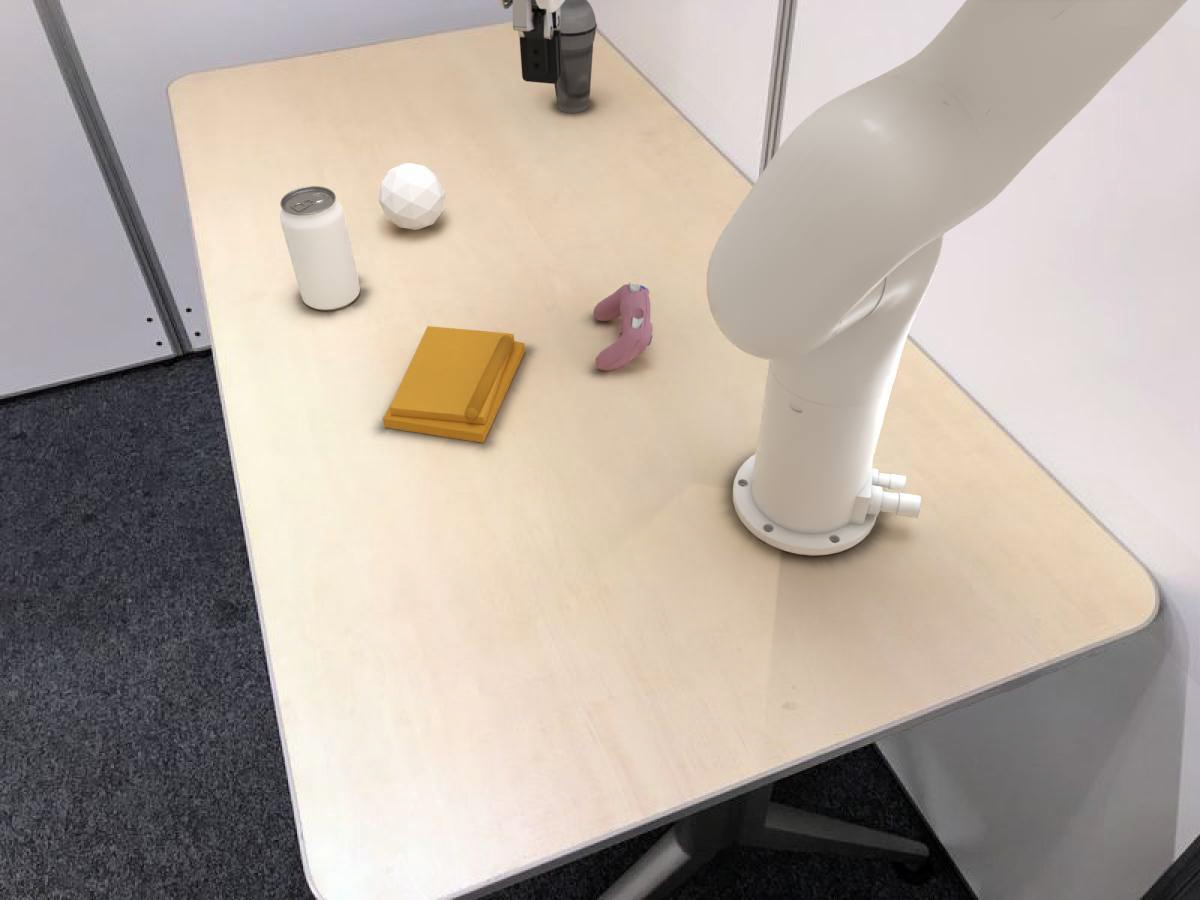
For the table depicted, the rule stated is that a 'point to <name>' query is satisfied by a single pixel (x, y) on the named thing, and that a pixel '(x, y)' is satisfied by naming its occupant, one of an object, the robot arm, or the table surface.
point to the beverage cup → (575, 55)
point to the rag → (455, 383)
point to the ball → (411, 196)
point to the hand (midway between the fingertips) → (542, 78)
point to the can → (319, 248)
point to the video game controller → (625, 325)
